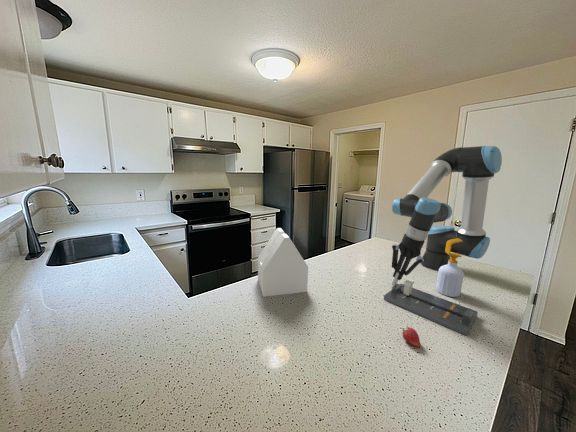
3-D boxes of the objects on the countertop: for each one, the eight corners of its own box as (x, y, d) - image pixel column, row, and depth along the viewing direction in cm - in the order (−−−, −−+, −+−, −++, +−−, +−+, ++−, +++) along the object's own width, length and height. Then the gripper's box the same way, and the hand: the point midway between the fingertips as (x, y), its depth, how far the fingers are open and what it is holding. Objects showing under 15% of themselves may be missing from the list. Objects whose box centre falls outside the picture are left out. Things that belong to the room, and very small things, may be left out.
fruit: (414, 351, 70) (416, 336, 69) (397, 338, 75) (399, 324, 74) (424, 347, 71) (426, 332, 70) (407, 334, 77) (409, 321, 76)
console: (400, 287, 107) (401, 279, 107) (476, 316, 87) (478, 306, 86) (383, 299, 97) (384, 290, 96) (466, 335, 77) (468, 324, 76)
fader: (406, 290, 100) (408, 278, 99) (412, 292, 98) (414, 280, 97) (402, 294, 97) (403, 282, 96) (408, 296, 95) (409, 284, 94)
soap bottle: (464, 298, 99) (474, 243, 94) (440, 296, 101) (449, 241, 96) (454, 288, 108) (463, 237, 103) (432, 286, 110) (440, 235, 105)
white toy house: (263, 296, 97) (263, 238, 92) (258, 280, 111) (258, 228, 106) (307, 292, 102) (309, 236, 97) (296, 276, 116) (298, 227, 111)
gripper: (395, 231, 94) (376, 278, 103) (427, 246, 86) (404, 296, 95) (404, 228, 99) (385, 273, 108) (434, 242, 91) (412, 290, 100)
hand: (394, 284), depth 101 cm, fingers closed
